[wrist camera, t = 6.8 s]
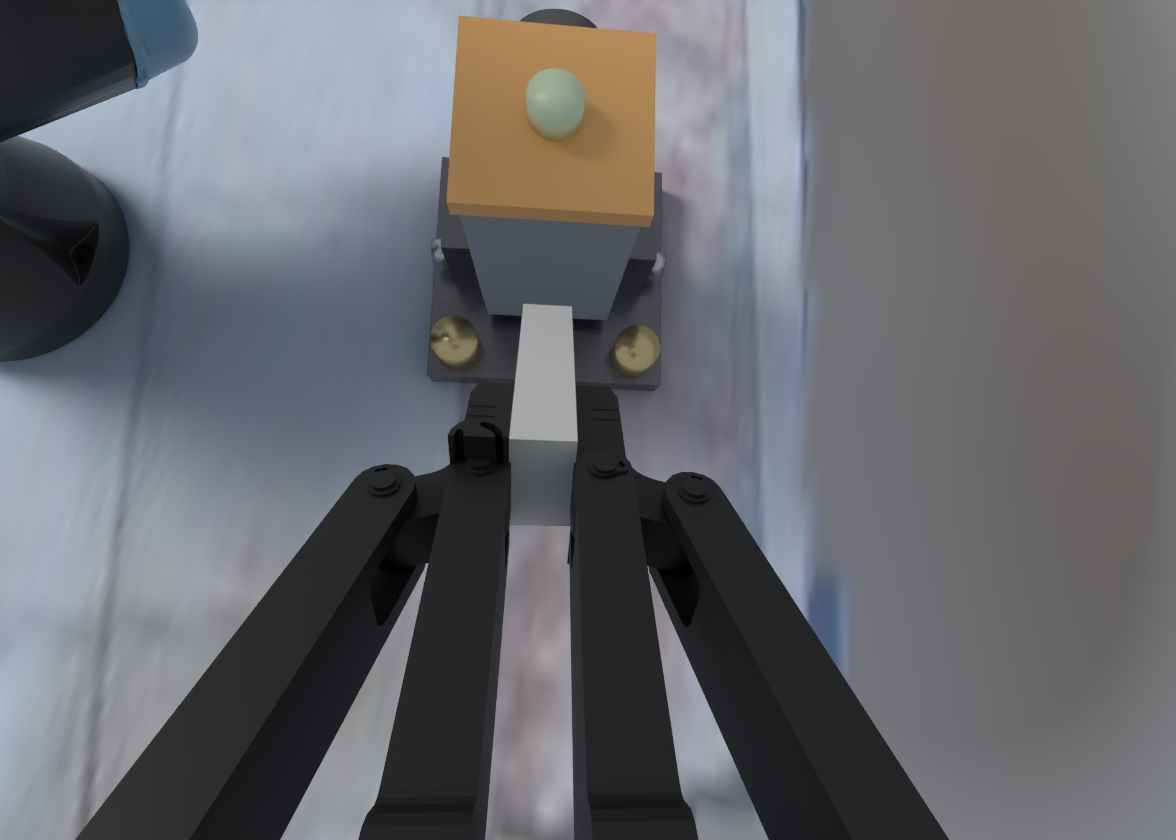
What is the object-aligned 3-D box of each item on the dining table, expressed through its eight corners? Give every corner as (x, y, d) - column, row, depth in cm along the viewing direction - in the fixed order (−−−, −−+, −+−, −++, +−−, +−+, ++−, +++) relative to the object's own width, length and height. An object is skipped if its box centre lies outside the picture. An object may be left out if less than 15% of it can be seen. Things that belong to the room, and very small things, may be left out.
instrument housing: (611, 324, 39) (659, 201, 23) (483, 318, 38) (441, 186, 22) (614, 170, 41) (661, -46, 25) (491, 161, 40) (458, -66, 24)
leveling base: (654, 390, 42) (680, 365, 34) (432, 381, 41) (406, 352, 33) (656, 187, 44) (681, 119, 37) (446, 172, 43) (425, 99, 35)
